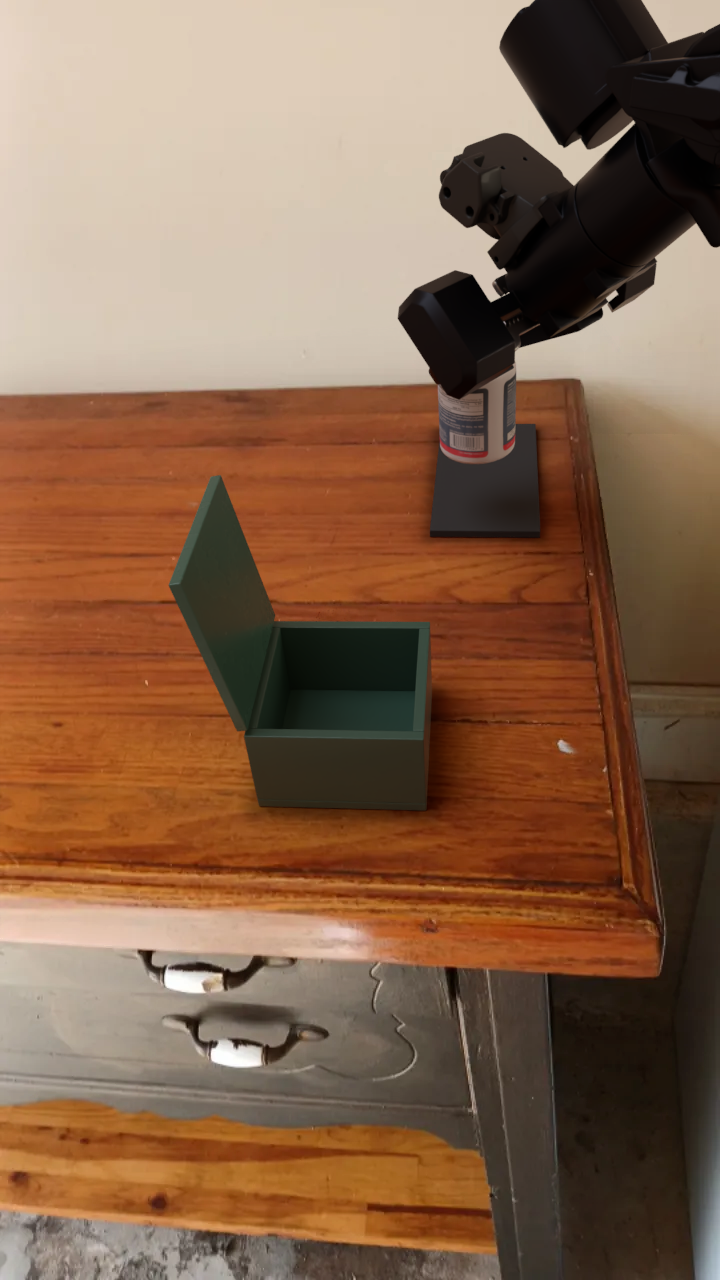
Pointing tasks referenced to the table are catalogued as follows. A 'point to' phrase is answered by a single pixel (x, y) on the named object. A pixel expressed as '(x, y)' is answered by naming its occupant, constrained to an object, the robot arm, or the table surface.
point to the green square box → (343, 716)
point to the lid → (224, 602)
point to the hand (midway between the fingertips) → (461, 362)
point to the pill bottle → (479, 421)
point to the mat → (489, 494)
